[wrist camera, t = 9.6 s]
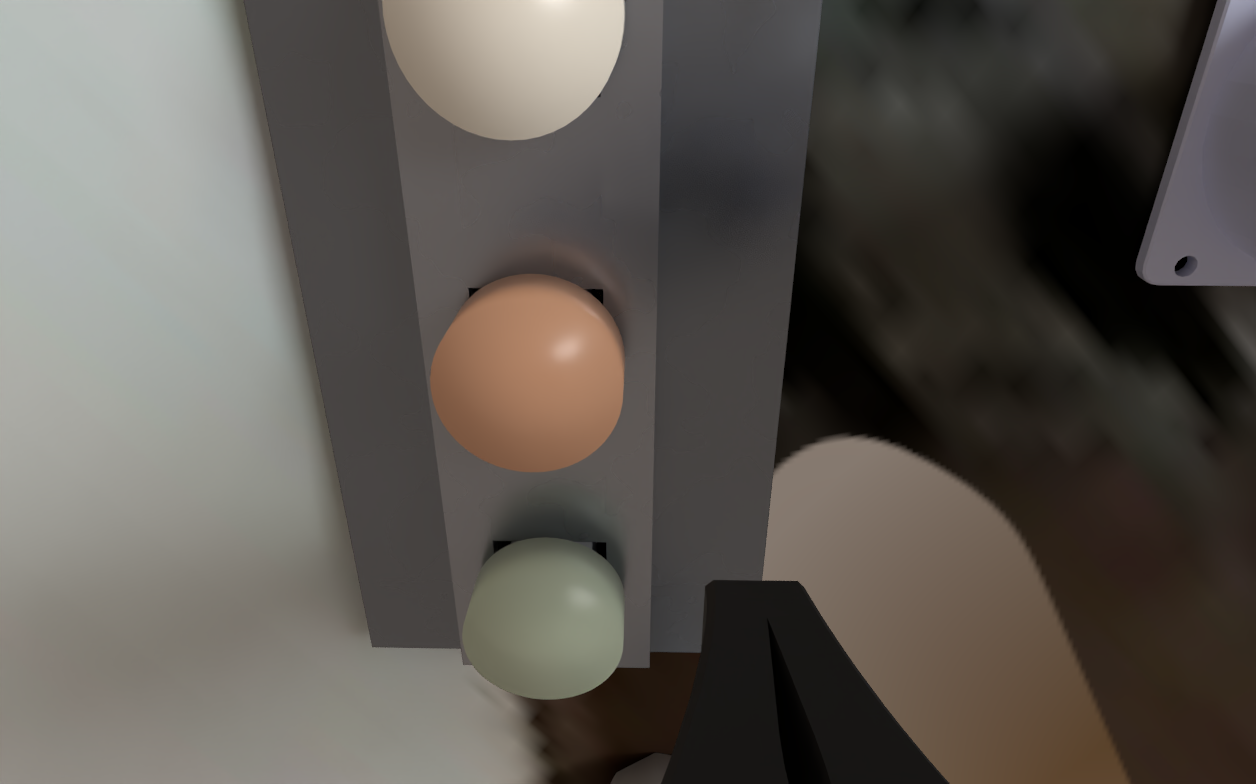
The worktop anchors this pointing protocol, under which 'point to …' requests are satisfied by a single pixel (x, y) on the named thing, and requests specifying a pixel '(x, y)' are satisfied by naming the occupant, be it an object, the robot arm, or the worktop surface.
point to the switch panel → (699, 298)
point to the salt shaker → (644, 771)
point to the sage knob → (546, 619)
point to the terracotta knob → (530, 374)
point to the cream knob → (506, 59)
